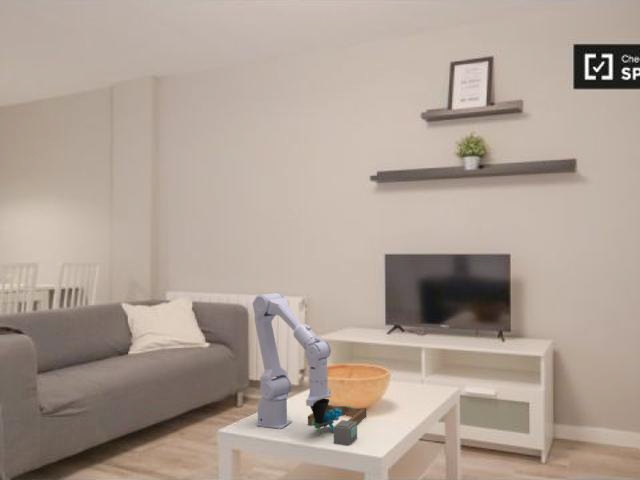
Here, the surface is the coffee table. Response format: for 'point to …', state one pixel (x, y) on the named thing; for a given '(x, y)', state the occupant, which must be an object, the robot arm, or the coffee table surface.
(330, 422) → the blue green toy construction
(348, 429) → the block
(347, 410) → the frame
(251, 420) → the coffee table surface
